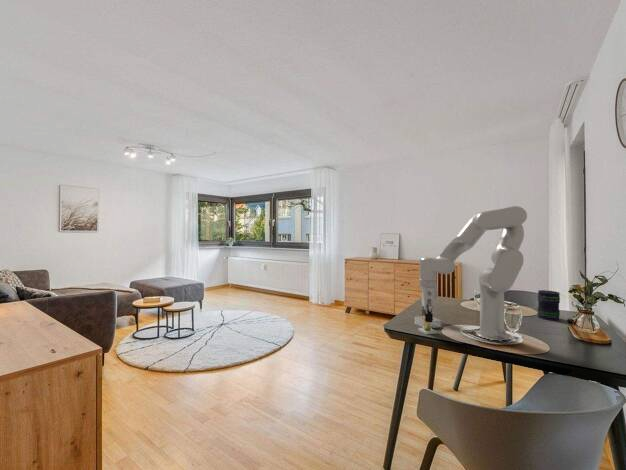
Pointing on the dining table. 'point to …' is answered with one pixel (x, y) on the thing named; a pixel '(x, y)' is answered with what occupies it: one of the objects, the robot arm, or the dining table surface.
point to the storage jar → (548, 305)
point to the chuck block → (434, 324)
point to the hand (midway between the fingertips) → (427, 319)
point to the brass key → (426, 324)
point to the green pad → (427, 331)
